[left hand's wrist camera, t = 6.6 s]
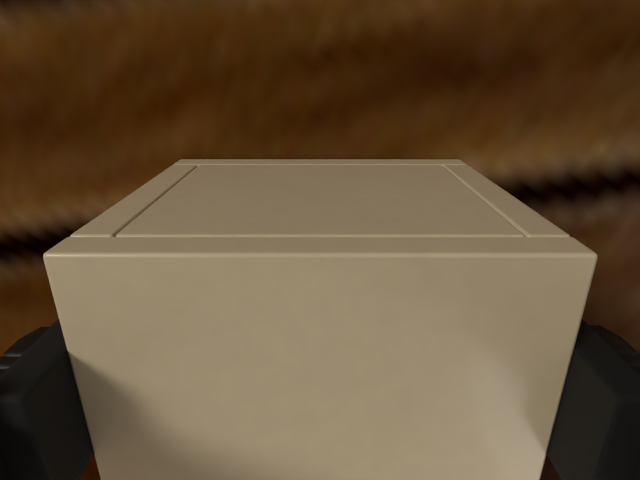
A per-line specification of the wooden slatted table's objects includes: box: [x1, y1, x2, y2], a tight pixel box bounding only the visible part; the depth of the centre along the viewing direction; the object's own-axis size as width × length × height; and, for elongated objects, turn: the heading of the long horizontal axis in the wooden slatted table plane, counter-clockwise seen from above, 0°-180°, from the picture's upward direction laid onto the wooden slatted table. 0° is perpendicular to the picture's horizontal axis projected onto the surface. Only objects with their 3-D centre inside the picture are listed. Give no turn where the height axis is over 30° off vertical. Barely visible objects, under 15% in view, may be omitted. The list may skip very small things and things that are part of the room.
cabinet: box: [43, 159, 598, 480], centre depth 15 cm, size 21×10×8 cm, turn 0°
